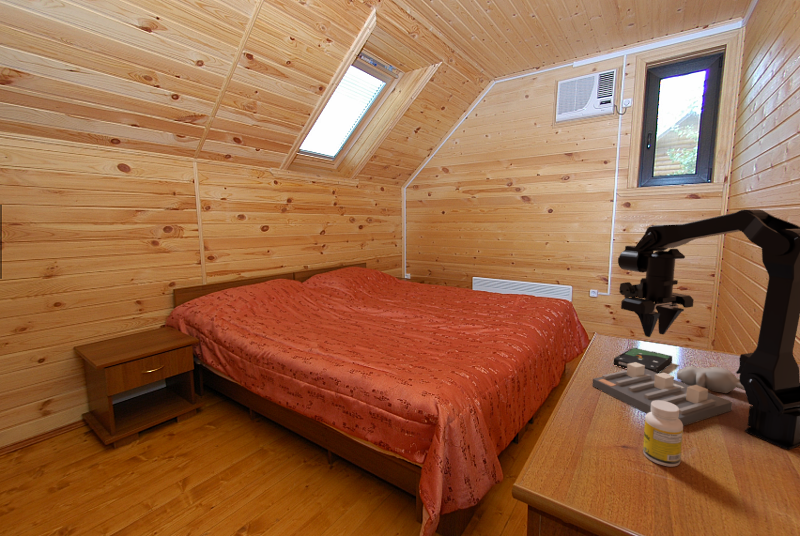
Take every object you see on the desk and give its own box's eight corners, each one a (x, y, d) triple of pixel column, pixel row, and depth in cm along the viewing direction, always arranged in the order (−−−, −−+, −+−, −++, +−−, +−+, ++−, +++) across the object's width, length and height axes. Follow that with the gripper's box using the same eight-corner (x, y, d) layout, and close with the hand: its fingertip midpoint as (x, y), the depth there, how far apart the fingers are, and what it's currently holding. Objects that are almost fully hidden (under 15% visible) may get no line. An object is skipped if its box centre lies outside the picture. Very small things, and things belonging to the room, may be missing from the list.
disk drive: (654, 379, 97) (672, 364, 106) (655, 369, 96) (673, 355, 105) (612, 367, 105) (632, 354, 114) (613, 358, 104) (633, 346, 113)
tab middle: (672, 388, 85) (674, 376, 85) (664, 390, 84) (665, 378, 84) (662, 384, 88) (663, 372, 87) (654, 386, 87) (654, 374, 86)
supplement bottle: (644, 444, 68) (648, 395, 67) (680, 456, 65) (685, 404, 63) (640, 459, 64) (644, 406, 63) (679, 472, 61) (684, 417, 59)
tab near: (706, 402, 79) (708, 389, 79) (697, 405, 78) (699, 391, 78) (694, 397, 81) (695, 384, 81) (685, 399, 80) (687, 387, 80)
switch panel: (731, 410, 79) (732, 398, 79) (676, 428, 73) (677, 415, 73) (642, 374, 98) (643, 364, 98) (592, 386, 92) (593, 375, 91)
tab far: (643, 376, 92) (644, 365, 92) (635, 378, 91) (636, 367, 90) (634, 373, 94) (635, 362, 94) (626, 375, 93) (627, 363, 93)
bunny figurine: (680, 359, 98) (758, 368, 87) (681, 378, 98) (759, 389, 88) (674, 370, 91) (758, 381, 81) (675, 390, 92) (759, 404, 81)
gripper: (653, 269, 102) (649, 323, 104) (604, 273, 95) (600, 330, 98) (697, 274, 92) (691, 334, 94) (645, 279, 85) (640, 343, 87)
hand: (654, 335), depth 93 cm, fingers open, 5 cm apart
